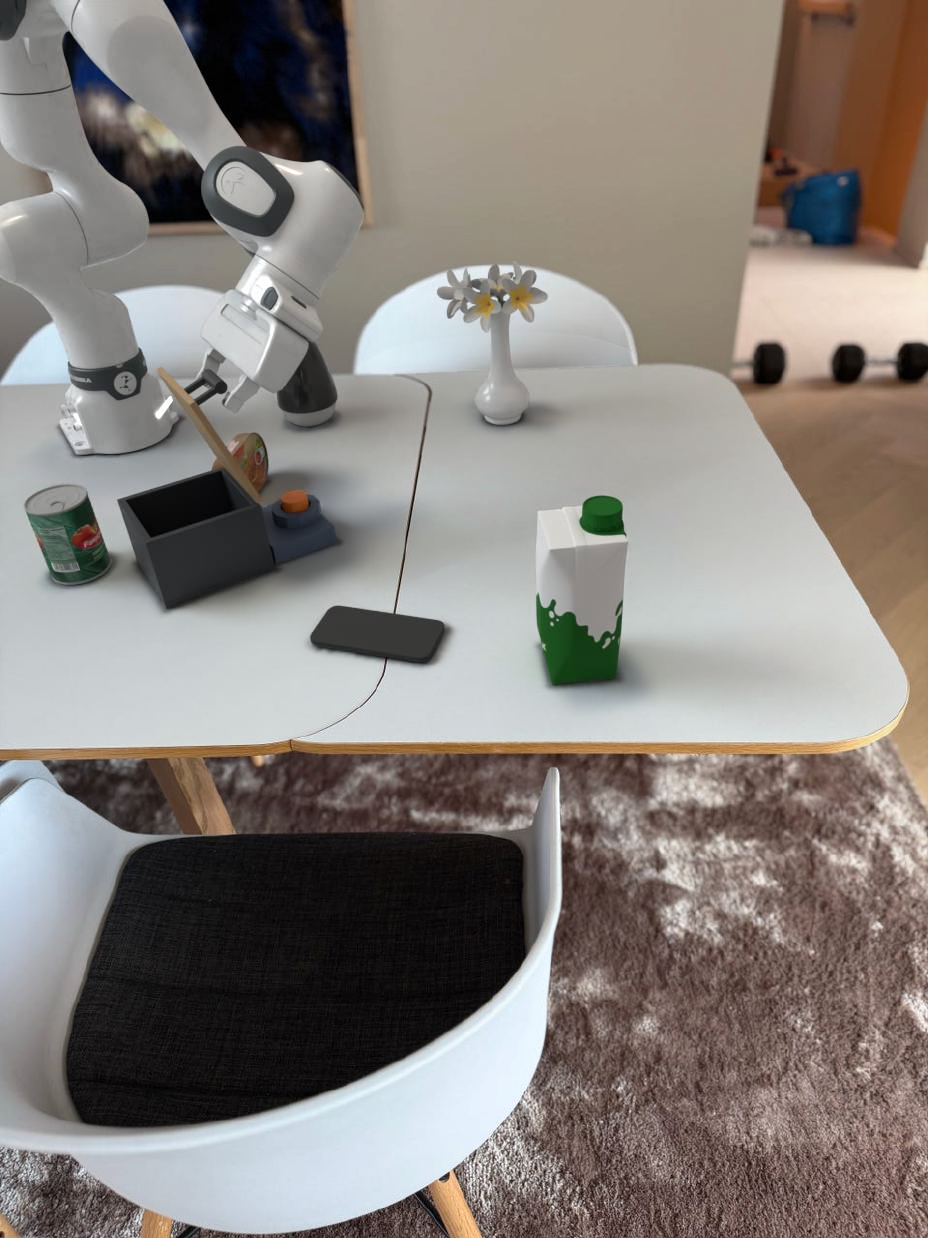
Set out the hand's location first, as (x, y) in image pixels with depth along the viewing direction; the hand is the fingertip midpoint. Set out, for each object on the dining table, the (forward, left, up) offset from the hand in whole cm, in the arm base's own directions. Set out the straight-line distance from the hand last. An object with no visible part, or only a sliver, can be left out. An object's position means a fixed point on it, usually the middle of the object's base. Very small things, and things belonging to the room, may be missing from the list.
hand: (215, 396), depth 112 cm
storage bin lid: (0, -2, -5) cm, 5 cm away
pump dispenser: (-29, +30, -23) cm, 47 cm away
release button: (+1, +7, -18) cm, 20 cm away
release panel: (+1, +6, -22) cm, 23 cm away
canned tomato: (-13, -19, -23) cm, 32 cm away
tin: (-14, +8, -23) cm, 28 cm away
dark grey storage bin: (-1, -6, -22) cm, 23 cm away
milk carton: (+48, +14, -23) cm, 55 cm away
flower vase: (-5, +52, -23) cm, 57 cm away
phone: (+28, +1, -22) cm, 36 cm away
